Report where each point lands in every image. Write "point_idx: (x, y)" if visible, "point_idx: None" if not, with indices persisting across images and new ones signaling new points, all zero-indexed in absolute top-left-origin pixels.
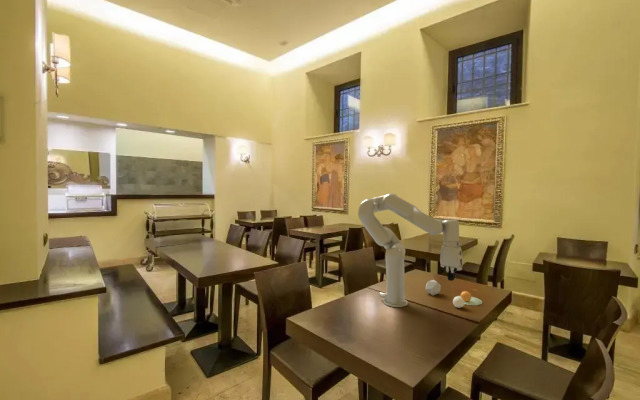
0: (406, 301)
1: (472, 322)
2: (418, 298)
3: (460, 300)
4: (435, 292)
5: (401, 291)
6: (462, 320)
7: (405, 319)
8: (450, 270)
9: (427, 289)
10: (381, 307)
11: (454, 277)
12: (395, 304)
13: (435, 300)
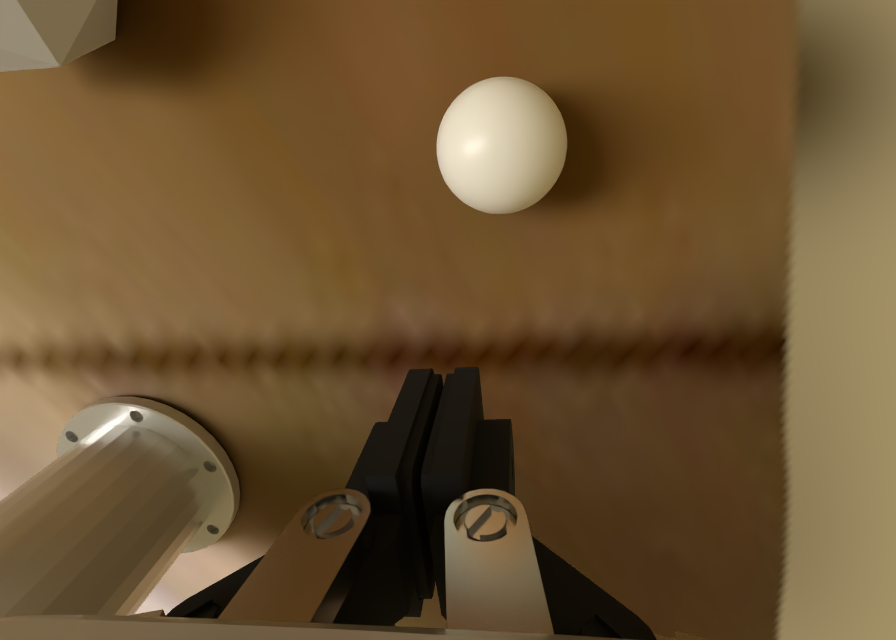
0: (186, 436)
1: (752, 375)
2: (134, 248)
3: (542, 184)
4: (107, 15)
5: (143, 580)
6: (672, 397)
7: (401, 620)
8: (382, 572)
9: (22, 69)
10: (183, 579)
11: (510, 438)
12: (202, 533)
13: (245, 159)
